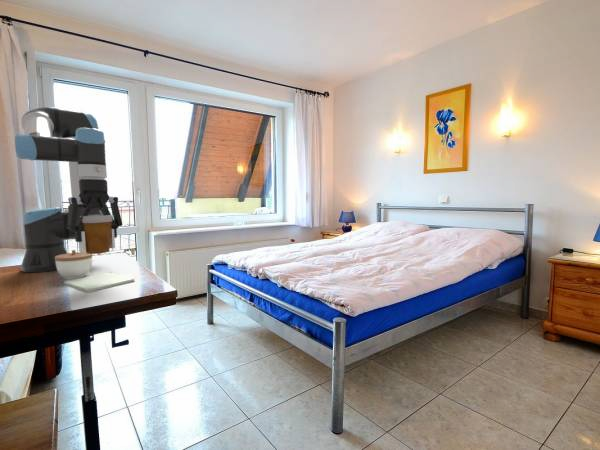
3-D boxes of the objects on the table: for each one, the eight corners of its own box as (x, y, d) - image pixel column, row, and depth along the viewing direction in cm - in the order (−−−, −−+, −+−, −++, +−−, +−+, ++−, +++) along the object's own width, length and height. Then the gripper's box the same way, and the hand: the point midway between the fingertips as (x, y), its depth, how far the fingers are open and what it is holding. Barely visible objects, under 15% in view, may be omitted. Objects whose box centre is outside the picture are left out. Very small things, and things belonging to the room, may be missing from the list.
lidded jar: (74, 281, 105) (72, 253, 104) (48, 280, 107) (45, 252, 106) (101, 273, 115) (99, 248, 114) (76, 272, 118) (74, 247, 117)
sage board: (64, 283, 102) (64, 281, 102) (109, 274, 114) (109, 272, 114) (88, 292, 94) (87, 289, 94) (134, 281, 105) (134, 278, 105)
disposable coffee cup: (115, 248, 109) (113, 213, 108) (114, 253, 101) (112, 215, 100) (81, 251, 105) (79, 214, 103) (78, 256, 96) (75, 216, 95)
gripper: (59, 177, 90) (65, 256, 92) (132, 179, 107) (135, 246, 109) (48, 178, 94) (54, 253, 96) (120, 180, 111) (124, 244, 114)
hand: (97, 249), depth 103 cm, fingers closed on disposable coffee cup, 8 cm apart
